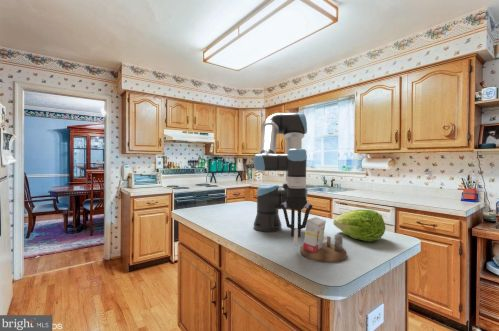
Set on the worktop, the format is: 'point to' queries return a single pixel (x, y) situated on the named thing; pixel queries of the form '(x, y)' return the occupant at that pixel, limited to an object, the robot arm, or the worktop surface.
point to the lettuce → (361, 224)
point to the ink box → (314, 234)
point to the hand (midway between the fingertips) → (295, 244)
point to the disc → (327, 251)
